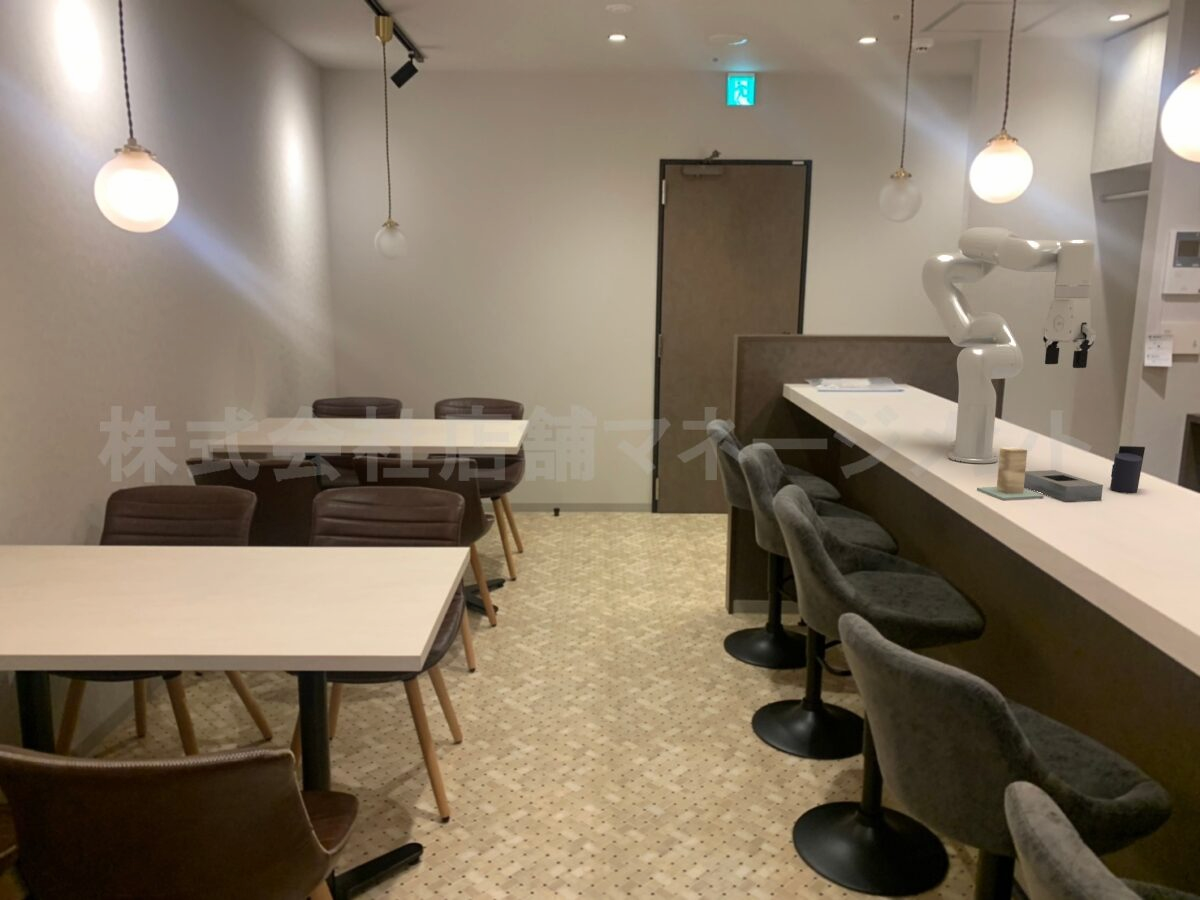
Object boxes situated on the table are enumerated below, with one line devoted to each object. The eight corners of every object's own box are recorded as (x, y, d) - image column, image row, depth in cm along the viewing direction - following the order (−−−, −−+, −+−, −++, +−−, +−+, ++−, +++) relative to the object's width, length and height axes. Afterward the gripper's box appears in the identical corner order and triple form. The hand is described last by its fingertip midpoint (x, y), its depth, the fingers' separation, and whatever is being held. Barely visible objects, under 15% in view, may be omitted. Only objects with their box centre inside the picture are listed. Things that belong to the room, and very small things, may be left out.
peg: (996, 490, 203) (1000, 447, 201) (1011, 489, 203) (1015, 447, 202) (1007, 494, 199) (1011, 451, 197) (1023, 493, 200) (1027, 450, 198)
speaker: (1110, 484, 210) (1117, 442, 207) (1138, 488, 207) (1145, 446, 204) (1107, 493, 204) (1114, 451, 201) (1136, 497, 201) (1143, 454, 198)
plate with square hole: (1019, 485, 209) (1020, 471, 209) (1053, 484, 211) (1054, 470, 210) (1065, 502, 194) (1066, 486, 193) (1101, 500, 195) (1102, 484, 195)
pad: (976, 490, 205) (977, 487, 205) (1015, 488, 207) (1015, 485, 207) (1003, 500, 196) (1003, 497, 195) (1043, 498, 197) (1043, 495, 197)
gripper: (1033, 293, 213) (1027, 363, 216) (1083, 293, 196) (1076, 369, 200) (1061, 292, 214) (1054, 362, 218) (1113, 293, 198) (1105, 369, 201)
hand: (1065, 365), depth 209 cm, fingers open, 9 cm apart
